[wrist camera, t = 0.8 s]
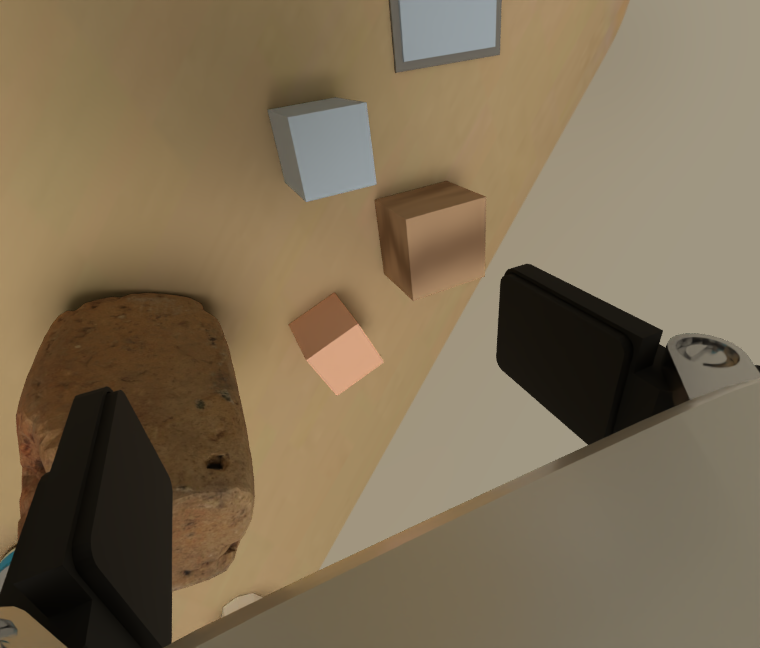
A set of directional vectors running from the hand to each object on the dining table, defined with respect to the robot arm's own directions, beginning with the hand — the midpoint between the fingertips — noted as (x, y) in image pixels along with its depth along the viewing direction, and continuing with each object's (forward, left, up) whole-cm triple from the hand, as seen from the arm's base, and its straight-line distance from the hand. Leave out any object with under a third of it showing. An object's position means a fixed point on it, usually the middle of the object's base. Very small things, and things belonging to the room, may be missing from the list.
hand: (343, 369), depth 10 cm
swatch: (-9, +18, -25) cm, 32 cm away
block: (+10, -10, -25) cm, 29 cm away
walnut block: (+8, +14, -25) cm, 30 cm away
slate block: (-1, +6, -25) cm, 26 cm away
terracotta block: (+15, +4, -25) cm, 30 cm away
